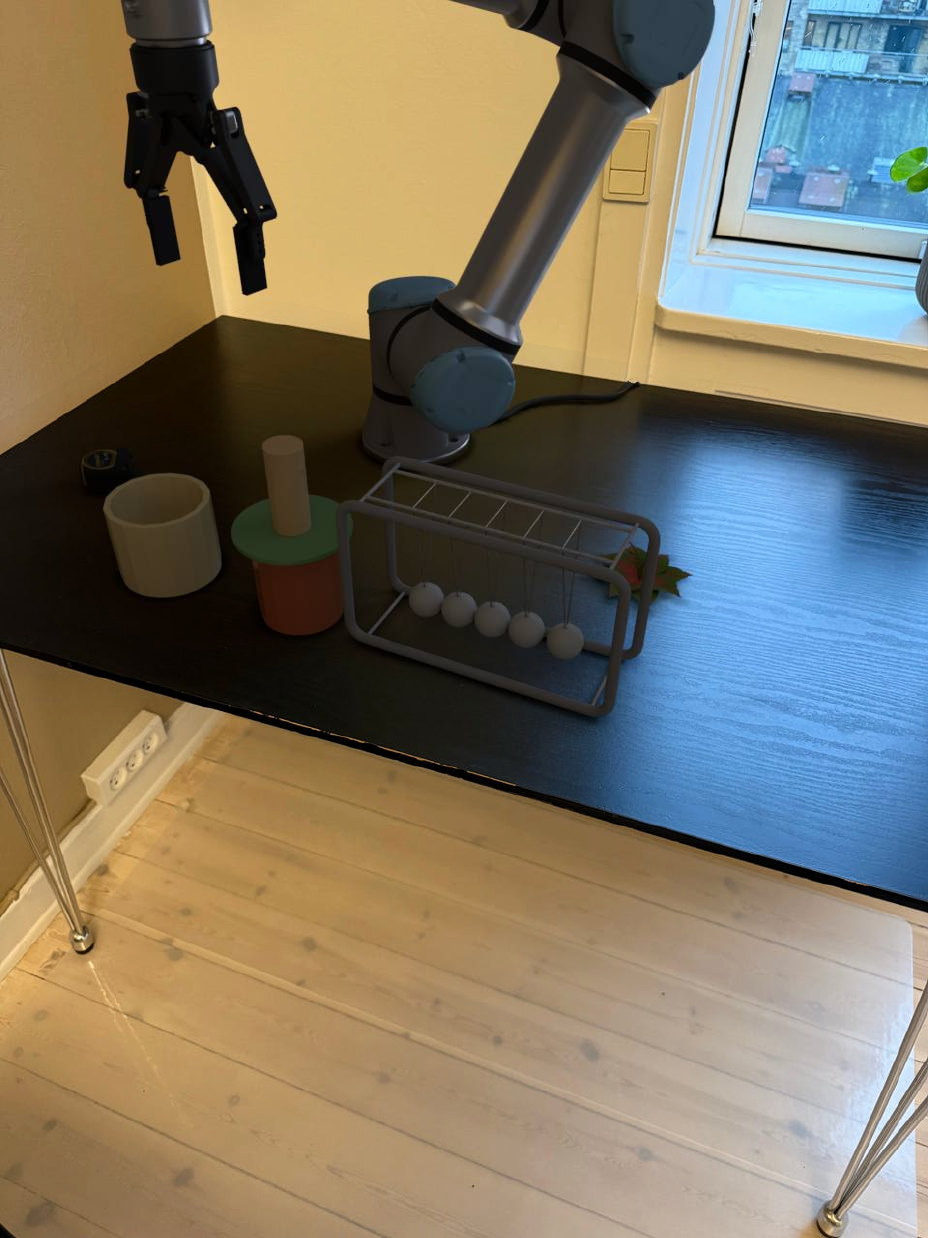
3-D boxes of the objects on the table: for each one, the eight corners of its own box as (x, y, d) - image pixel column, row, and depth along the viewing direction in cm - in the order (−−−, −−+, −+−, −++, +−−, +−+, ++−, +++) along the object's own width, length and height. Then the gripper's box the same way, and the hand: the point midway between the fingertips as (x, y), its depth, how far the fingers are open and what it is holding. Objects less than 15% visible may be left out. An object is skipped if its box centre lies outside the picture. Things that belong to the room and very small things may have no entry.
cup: (341, 581, 111) (335, 508, 105) (346, 631, 104) (340, 556, 98) (261, 587, 110) (250, 514, 103) (261, 639, 103) (249, 563, 96)
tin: (223, 537, 118) (211, 469, 112) (219, 593, 109) (206, 523, 103) (128, 544, 116) (110, 476, 110) (116, 601, 108) (97, 531, 102)
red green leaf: (711, 580, 112) (718, 547, 109) (650, 625, 105) (656, 592, 102) (628, 538, 118) (633, 507, 116) (566, 578, 112) (569, 546, 109)
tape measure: (138, 492, 125) (132, 467, 123) (83, 500, 124) (76, 475, 121) (135, 467, 130) (129, 442, 128) (82, 474, 129) (76, 450, 126)
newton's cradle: (641, 661, 101) (665, 519, 89) (610, 725, 93) (632, 580, 82) (390, 586, 110) (383, 449, 99) (344, 639, 103) (331, 498, 92)
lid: (349, 499, 106) (343, 411, 99) (357, 565, 96) (350, 472, 90) (234, 507, 105) (219, 418, 98) (230, 575, 95) (214, 482, 88)
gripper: (53, 30, 89) (107, 260, 103) (231, 61, 78) (265, 316, 91) (120, 21, 94) (163, 242, 107) (298, 48, 82) (321, 293, 96)
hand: (210, 276), depth 99 cm, fingers open, 13 cm apart
